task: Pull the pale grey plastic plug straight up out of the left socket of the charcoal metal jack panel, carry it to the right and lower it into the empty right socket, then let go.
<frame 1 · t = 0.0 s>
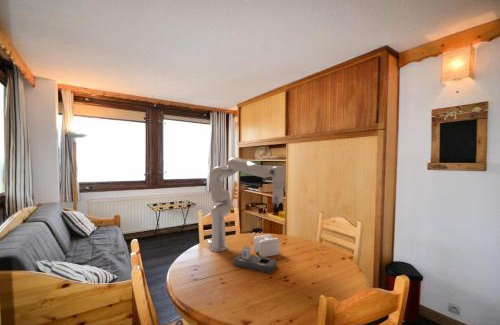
hand: (278, 211, 149), 31 cm above the table, fingers open, 9 cm apart
jack panel: (254, 265, 141), on the table
cable organizer: (266, 254, 159), on the table
plug: (246, 264, 143), resting in jack panel
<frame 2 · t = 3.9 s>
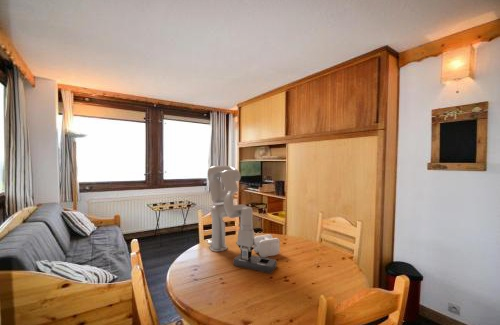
hand: (246, 256, 143), 5 cm above the table, fingers closed on plug, 4 cm apart
plug: (246, 263, 143), resting in jack panel, touching gripper
everything else where it was.
when the fingers open (5 cm above the table, at t = 10.1 s): plug stays where it is, resting in jack panel.
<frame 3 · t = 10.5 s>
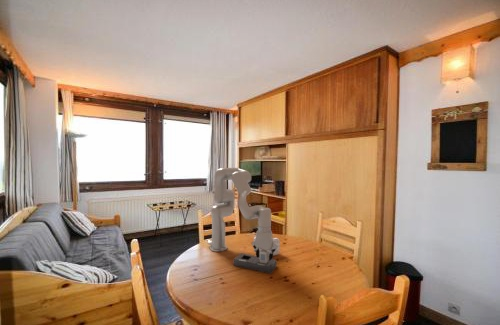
hand: (264, 258, 138), 6 cm above the table, fingers open, 7 cm apart
plug: (264, 267, 138), resting in jack panel
everything else where it was.
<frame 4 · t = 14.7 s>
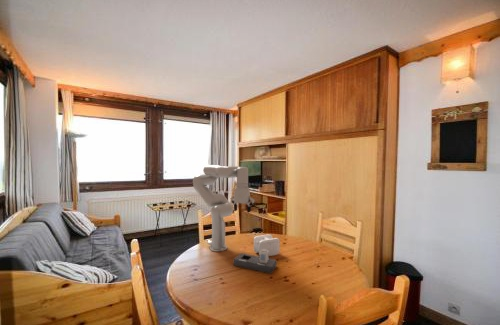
hand: (242, 211, 153), 30 cm above the table, fingers open, 9 cm apart
nothing on the table moved.
at the end: plug 0.1 cm from the target spot on the jack panel, point 0.0 cm above the jack panel's base; plug tilted 0°; the gripper is holding nothing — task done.
